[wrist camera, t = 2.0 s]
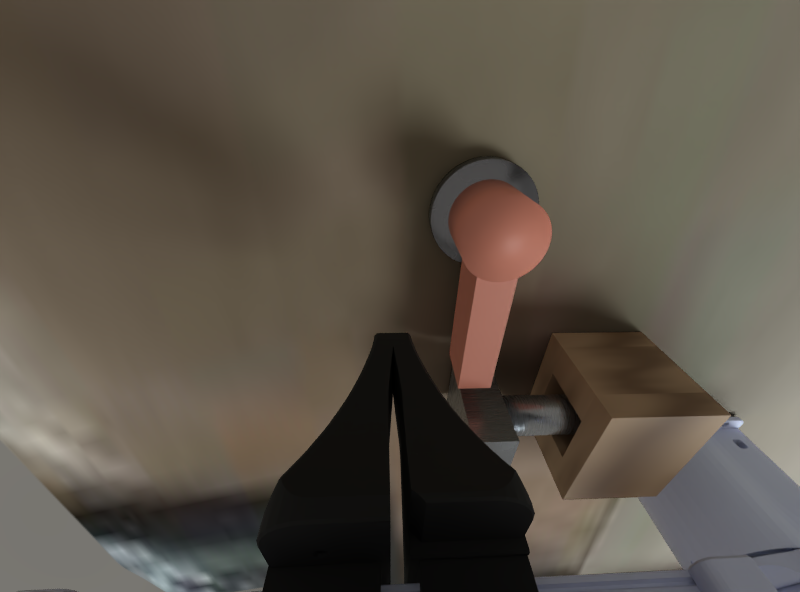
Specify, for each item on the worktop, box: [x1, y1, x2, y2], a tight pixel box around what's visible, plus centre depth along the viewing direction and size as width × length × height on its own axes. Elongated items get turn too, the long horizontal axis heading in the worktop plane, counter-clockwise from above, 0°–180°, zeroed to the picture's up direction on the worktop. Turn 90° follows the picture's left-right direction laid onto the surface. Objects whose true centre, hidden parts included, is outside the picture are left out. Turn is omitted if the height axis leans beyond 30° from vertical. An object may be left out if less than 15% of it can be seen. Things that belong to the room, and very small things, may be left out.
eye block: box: [530, 332, 731, 500], centre depth 20 cm, size 6×8×6 cm
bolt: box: [447, 366, 582, 465], centre depth 20 cm, size 11×4×6 cm, turn 89°
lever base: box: [429, 156, 539, 263], centre depth 15 cm, size 5×5×1 cm
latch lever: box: [448, 179, 552, 389], centre depth 16 cm, size 4×10×3 cm, turn 179°
